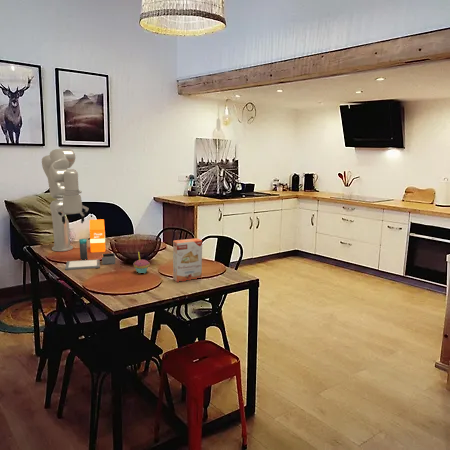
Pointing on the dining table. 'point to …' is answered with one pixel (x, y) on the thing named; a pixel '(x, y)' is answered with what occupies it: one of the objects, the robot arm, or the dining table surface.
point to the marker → (83, 248)
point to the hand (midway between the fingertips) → (73, 223)
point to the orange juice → (97, 235)
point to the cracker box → (187, 259)
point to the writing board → (82, 264)
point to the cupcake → (141, 265)
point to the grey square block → (108, 258)
